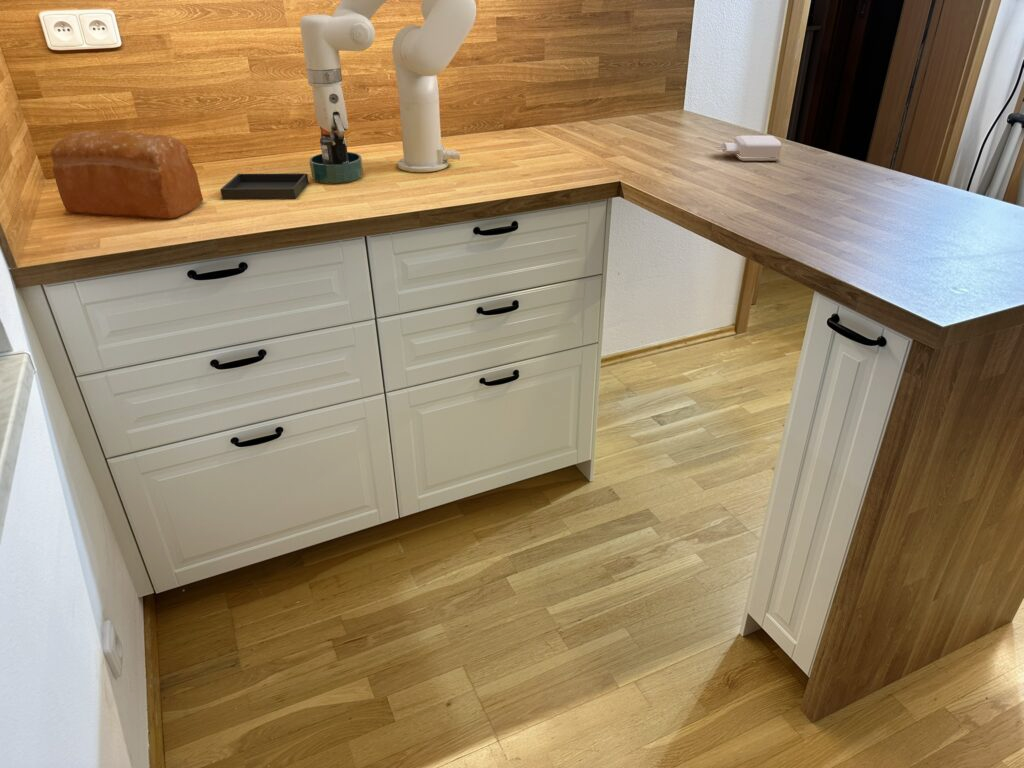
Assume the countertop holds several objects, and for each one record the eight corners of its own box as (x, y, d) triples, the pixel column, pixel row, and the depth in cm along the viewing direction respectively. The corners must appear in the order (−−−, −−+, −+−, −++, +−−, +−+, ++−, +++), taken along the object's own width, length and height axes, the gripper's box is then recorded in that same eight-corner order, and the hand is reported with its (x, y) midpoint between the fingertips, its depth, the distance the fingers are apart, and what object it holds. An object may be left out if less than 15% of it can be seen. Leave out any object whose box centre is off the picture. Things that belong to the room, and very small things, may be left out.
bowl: (367, 170, 180) (365, 151, 177) (358, 184, 170) (356, 165, 167) (318, 170, 180) (315, 151, 177) (306, 184, 170) (303, 165, 167)
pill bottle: (353, 172, 177) (347, 123, 171) (346, 179, 172) (340, 129, 166) (329, 171, 177) (322, 123, 171) (321, 178, 172) (314, 129, 166)
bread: (102, 195, 164) (79, 122, 155) (209, 201, 160) (192, 127, 151) (59, 215, 152) (32, 137, 144) (173, 222, 148) (153, 143, 140)
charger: (710, 152, 192) (768, 152, 192) (718, 162, 184) (778, 162, 184) (713, 134, 190) (771, 134, 190) (721, 143, 182) (782, 143, 182)
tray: (308, 182, 171) (307, 173, 170) (295, 198, 161) (294, 189, 160) (239, 182, 171) (237, 173, 170) (222, 199, 161) (220, 189, 160)
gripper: (353, 81, 158) (363, 164, 168) (328, 70, 171) (338, 148, 180) (319, 84, 155) (331, 169, 164) (297, 72, 168) (309, 152, 177)
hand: (335, 157), depth 172 cm, fingers closed on pill bottle, 6 cm apart
